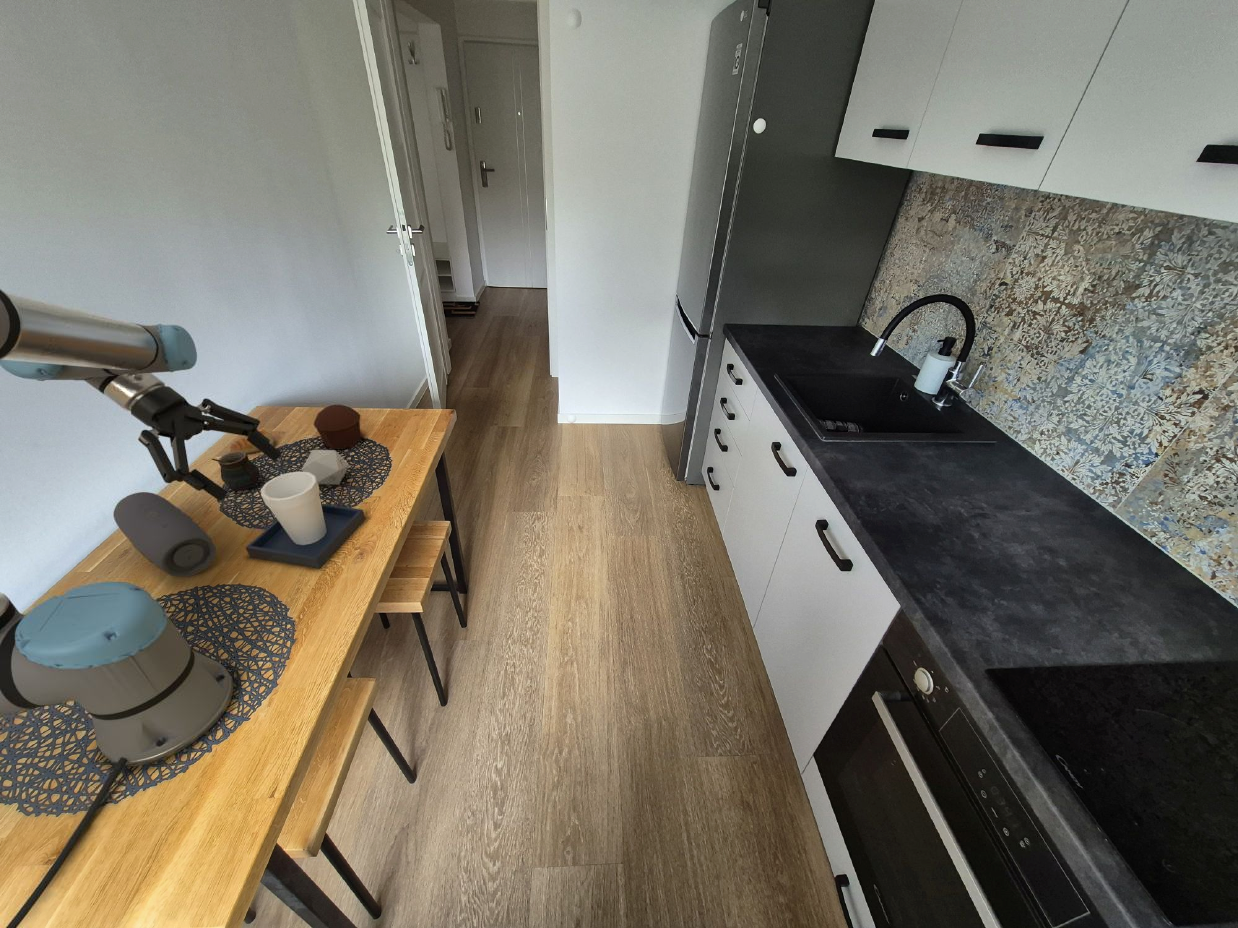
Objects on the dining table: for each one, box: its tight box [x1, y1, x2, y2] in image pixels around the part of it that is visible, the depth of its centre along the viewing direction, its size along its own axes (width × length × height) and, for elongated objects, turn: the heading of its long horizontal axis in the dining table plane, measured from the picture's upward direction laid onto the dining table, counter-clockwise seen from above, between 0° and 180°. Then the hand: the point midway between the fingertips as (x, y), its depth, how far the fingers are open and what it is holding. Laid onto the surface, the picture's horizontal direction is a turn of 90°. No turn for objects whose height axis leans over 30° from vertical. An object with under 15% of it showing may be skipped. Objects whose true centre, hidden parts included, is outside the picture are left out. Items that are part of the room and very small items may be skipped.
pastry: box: [230, 428, 275, 455], centre depth 130 cm, size 9×7×4 cm
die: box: [301, 449, 350, 486], centre depth 118 cm, size 8×9×10 cm
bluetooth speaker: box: [113, 491, 218, 578], centre depth 96 cm, size 23×9×10 cm, turn 56°
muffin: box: [313, 404, 362, 450], centre depth 132 cm, size 12×11×10 cm
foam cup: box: [260, 471, 327, 545], centre depth 100 cm, size 10×9×13 cm
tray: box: [245, 503, 366, 569], centre depth 104 cm, size 15×15×3 cm
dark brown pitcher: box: [211, 451, 261, 491], centre depth 115 cm, size 7×8×10 cm
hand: (253, 476), depth 97 cm, fingers open, 13 cm apart
